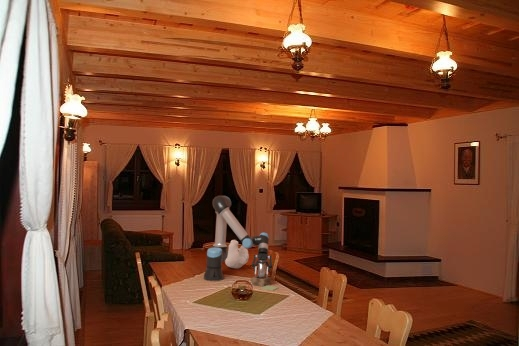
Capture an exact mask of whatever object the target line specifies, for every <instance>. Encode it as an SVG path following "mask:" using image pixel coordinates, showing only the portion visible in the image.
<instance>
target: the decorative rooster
mask: <svg viewBox="0 0 519 346" xmlns="http://www.w3.org/2000/svg"><path fill="white" fill-rule="evenodd" d="M227 251H228V257H227V258H226V260H225V261H224V262H225V265H226V266H227V267H228V268H231V269H235V270H236V269H240V268H242V267H243V266H244V265H246V263H247V262H248V261H249V257H250V254H249V250H248V248H244V247H243V245H241V246H240V247H239V241H237V239H232V240H231V241H230V243H229V244H228V248H227Z"/></svg>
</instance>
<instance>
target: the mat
mask: <svg viewBox="0 0 519 346" xmlns="http://www.w3.org/2000/svg"><path fill="white" fill-rule="evenodd" d="M260 289H261V290H266V291H276V290H278V289H280V286H275V285H274V286H273V285H266V286H264V287H262V286H260Z"/></svg>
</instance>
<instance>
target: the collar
mask: <svg viewBox="0 0 519 346" xmlns="http://www.w3.org/2000/svg"><path fill="white" fill-rule="evenodd" d="M250 280H251V281H250V284H251V283H252V285H251V286H256V287H257V286H258V287H264V286H266V285H269V286H271V285H272V277H271V276H265V278H264V279H260V278H258V275H256V276H253V277H251V278H250Z"/></svg>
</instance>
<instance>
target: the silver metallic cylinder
mask: <svg viewBox="0 0 519 346" xmlns="http://www.w3.org/2000/svg"><path fill="white" fill-rule="evenodd" d="M257 261H258V265H257V270H258V271H257V276H258V278H260V279H264V278H265V277H266V263H265V262H267V261H268V259H267V260H263V259H259V260H258V259H256V262H257Z"/></svg>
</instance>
